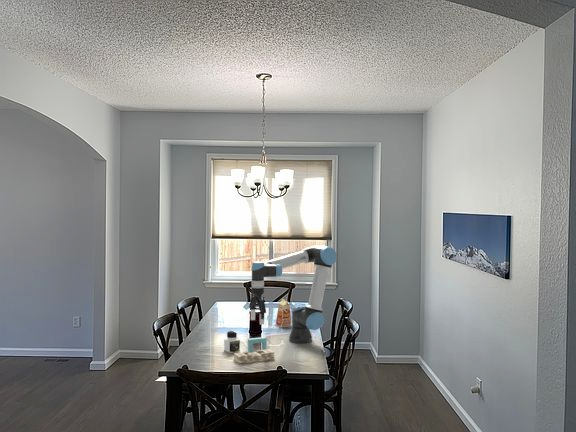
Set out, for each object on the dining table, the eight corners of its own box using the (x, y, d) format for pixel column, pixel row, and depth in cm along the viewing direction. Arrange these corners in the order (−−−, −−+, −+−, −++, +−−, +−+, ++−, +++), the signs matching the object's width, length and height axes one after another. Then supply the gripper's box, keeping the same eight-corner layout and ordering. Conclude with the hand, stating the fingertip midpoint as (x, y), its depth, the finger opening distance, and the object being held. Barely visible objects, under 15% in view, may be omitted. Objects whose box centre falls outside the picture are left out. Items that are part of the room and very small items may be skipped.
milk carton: (275, 325, 407) (275, 298, 407) (285, 324, 413) (285, 297, 412) (282, 327, 400) (282, 300, 400) (292, 326, 405) (292, 299, 405)
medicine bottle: (229, 353, 328) (229, 333, 328) (223, 350, 334) (224, 331, 334) (239, 351, 333) (240, 331, 332) (233, 348, 338) (234, 329, 338)
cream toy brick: (268, 355, 324) (268, 349, 324) (274, 359, 316) (274, 352, 316) (233, 360, 314) (234, 353, 314) (239, 363, 306) (239, 356, 306)
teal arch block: (264, 350, 335) (264, 336, 335) (266, 351, 332) (266, 338, 332) (247, 352, 330) (248, 338, 330) (249, 353, 327) (249, 339, 327)
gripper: (244, 284, 340) (243, 318, 340) (260, 290, 318) (260, 326, 318) (255, 284, 343) (254, 317, 344) (272, 289, 321) (271, 325, 321)
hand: (257, 322), depth 331 cm, fingers open, 13 cm apart
